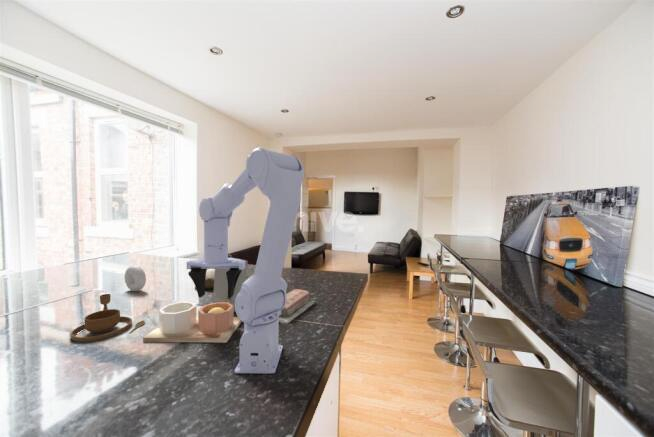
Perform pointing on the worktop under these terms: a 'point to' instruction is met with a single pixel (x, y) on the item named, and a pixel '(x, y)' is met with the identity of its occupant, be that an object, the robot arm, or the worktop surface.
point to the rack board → (192, 335)
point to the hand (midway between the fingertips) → (216, 296)
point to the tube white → (177, 317)
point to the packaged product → (295, 305)
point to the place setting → (103, 323)
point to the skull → (209, 279)
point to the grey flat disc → (135, 278)
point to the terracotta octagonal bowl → (215, 318)
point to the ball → (216, 310)
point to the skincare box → (222, 285)
